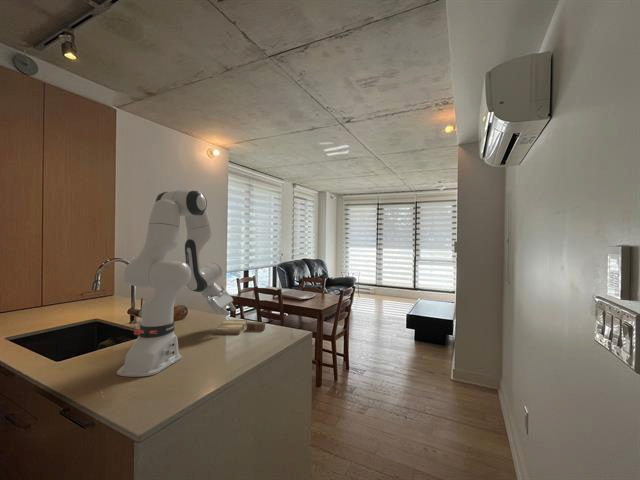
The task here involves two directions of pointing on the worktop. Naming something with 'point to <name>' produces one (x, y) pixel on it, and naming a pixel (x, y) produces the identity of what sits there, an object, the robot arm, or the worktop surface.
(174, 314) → the brown flat oval piece
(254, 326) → the block
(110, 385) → the worktop surface
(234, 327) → the board
